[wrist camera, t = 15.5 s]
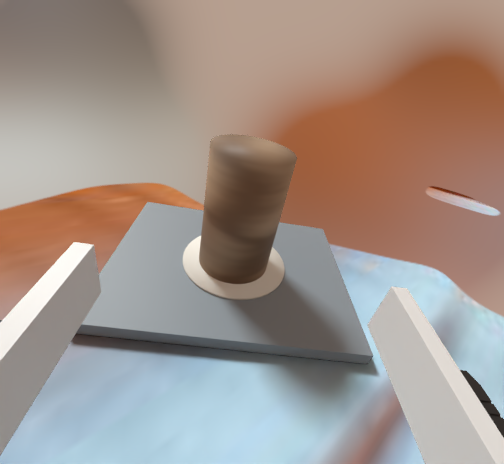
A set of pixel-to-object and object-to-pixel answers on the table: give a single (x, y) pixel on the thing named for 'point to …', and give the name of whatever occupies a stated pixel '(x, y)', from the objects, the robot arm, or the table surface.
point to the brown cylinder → (243, 206)
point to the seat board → (226, 294)
